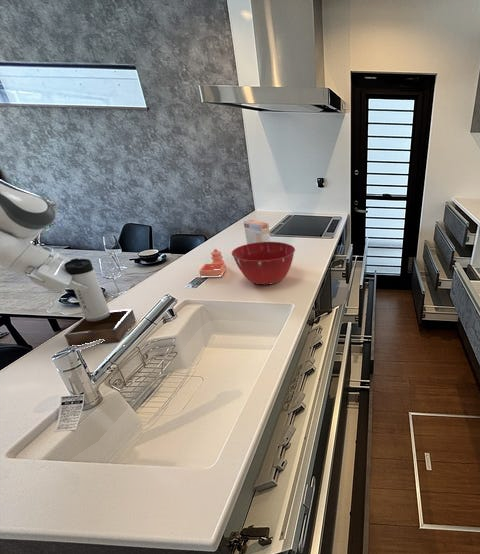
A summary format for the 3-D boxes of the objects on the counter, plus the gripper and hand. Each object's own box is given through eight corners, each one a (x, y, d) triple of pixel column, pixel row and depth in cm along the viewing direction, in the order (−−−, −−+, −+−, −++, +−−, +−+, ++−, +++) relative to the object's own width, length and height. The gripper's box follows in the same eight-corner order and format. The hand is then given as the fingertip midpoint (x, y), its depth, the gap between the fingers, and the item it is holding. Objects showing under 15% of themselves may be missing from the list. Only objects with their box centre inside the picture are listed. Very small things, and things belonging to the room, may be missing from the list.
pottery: (221, 277, 150) (218, 259, 146) (200, 278, 148) (196, 259, 144) (229, 264, 166) (226, 247, 162) (211, 265, 164) (207, 247, 160)
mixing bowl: (269, 264, 167) (265, 237, 161) (309, 276, 154) (307, 247, 148) (223, 282, 145) (218, 252, 138) (266, 298, 132) (262, 265, 126)
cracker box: (272, 258, 176) (268, 222, 168) (264, 261, 172) (260, 225, 163) (256, 253, 183) (251, 219, 174) (248, 256, 178) (243, 221, 169)
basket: (69, 347, 98) (64, 334, 96) (92, 325, 110) (87, 313, 107) (119, 342, 101) (114, 329, 99) (136, 320, 113) (132, 309, 111)
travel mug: (106, 309, 106) (86, 256, 98) (113, 316, 102) (92, 260, 94) (83, 317, 101) (60, 261, 93) (89, 323, 98) (66, 266, 90)
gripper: (30, 264, 81) (91, 289, 90) (48, 244, 96) (98, 267, 105) (14, 283, 80) (76, 306, 89) (34, 260, 96) (86, 281, 105)
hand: (88, 285), depth 97 cm, fingers closed on travel mug, 6 cm apart
